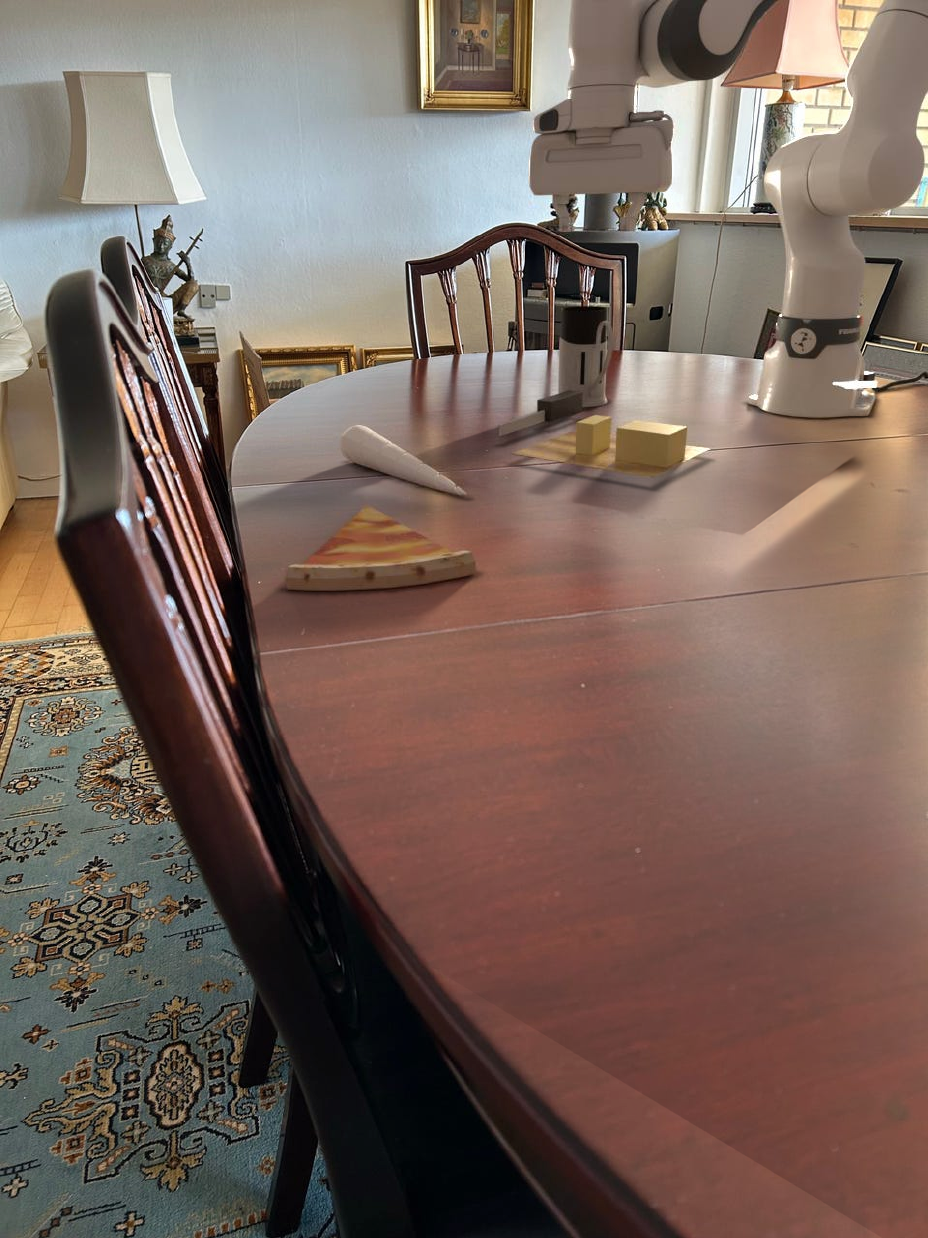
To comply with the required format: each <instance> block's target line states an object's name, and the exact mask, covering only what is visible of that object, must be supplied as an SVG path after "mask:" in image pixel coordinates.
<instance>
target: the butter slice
mask: <svg viewBox="0 0 928 1238" xmlns="http://www.w3.org/2000/svg"><path fill="white" fill-rule="evenodd" d="M575 426H576V427H575V430H576V454H582V455H589V456H593V455H595V454H597V453H599V452H601V451H603V450H605V449H607V448H610V434H611V432H612V431H611V430H612V429H611V428H612V416H608V415H607V416H606V415H598V414H593V415H592V416H589V417H586V418H584V419H582V420H579V421H576V425H575Z"/></svg>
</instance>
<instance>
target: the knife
mask: <svg viewBox="0 0 928 1238" xmlns="http://www.w3.org/2000/svg"><path fill="white" fill-rule="evenodd" d="M582 400H583V392H580V391H572V390H569V391H566V392H562V393H559V394H558V393H556V394H553V395H550V396H546V397H543V398H539V399H537V401H536V412H534V413H530V414H526V415H525V416H521V417H519V418H515V419H512V420H509V421H506V422H503V423H500V424H499V425H498V429H499V430H498V431H499V433H498V434H499V436H500V437H502V436H506V435H508V434H512V433H514V432H517V431H521V430H524V429H526V428H529V427H531V426H535V425H538V424H542V423H544V422H548V423H552V422H556V421H557V420H560V419H563V418H567V417H570V416H573V415H576V414H578V413H581V412H583V407H582Z"/></svg>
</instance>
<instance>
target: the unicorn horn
mask: <svg viewBox="0 0 928 1238" xmlns="http://www.w3.org/2000/svg"><path fill="white" fill-rule="evenodd" d="M340 451H341V454H342V456H343V457H344V458H345V459H346V461H349V462H351V463H355V464H357V465H360V466H362V467H365V468H369V469H372V470H374V471H378V472H381V473H383V474H387V475H390V476H393V477H395V478H398V479H402V480H405V481H408V482H411V483H414V484H417V485H420V486H424V487H426V488H430V489H433V490H437V491H441V492H445V493H448V494H452V495H457V496H467V495H468V494H467V493H466V492H465V490H463V489H462V488H461V486H458V485H457V486H456V483H455V482H454V481H452V480H451V479H449V478H448V477H446V476H445V475H443V474H440V472H439V471H437V470H435V469H434V468H432V467H431V466H429V465H428V464H426V463H424V462H423V461H422V460H420V459H419V458H417V457H416V456H414V455H413V454H411V453H410V452H409V453H408V452H407V451H406V450H404V448H401V447H400V446H398V445H396V444H395V443H392V441H390V440H388V439H387V438H385V437H383V436H382V435H380V434H378V433H377V432H375V431H374V430H372V429H370V428H369V427H367V426H365V425H361V424H356V425H352V426H351V427H349V428H347V429H346V430H345V431H344V433H343V434H342V435H341V439H340Z"/></svg>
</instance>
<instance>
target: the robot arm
mask: <svg viewBox="0 0 928 1238" xmlns="http://www.w3.org/2000/svg"><path fill="white" fill-rule="evenodd" d="M778 1H779V0H571V4H570V11H569V25H568V43H567V46H568V47H567V48H568V56H569V61H570V75H569V79H568V83H567V89H566V90H567V91H566V92H567V93H566V99H564V100H563V101H561V102H559V103H558V104H555V105H554V106H552V107H550V108H548V109H546V110H544V111H542V112H540V113H538V114H537V115H535V116H534V118H533V121H532V126H533V127H532V129H533V132H534V134H537V136H535V138H534V139H533V141H532V143H531V146H530V153H529V163H528V187H529V189H530V191H531V193H532V194H533V195H534V196H551V197H552V200H551V201H552V202H551V203H552V204H551V205H552V206H553V209H554V211H555V213H556V215H557V218H558V222H559V223H558V226H559V227H558V231H559V232H562V233H563V232H564V233H566V232H574V231H575V228H576V225H575V223H576V217H572V216H570V213H569V210H568V207H567V205H568V204H569V203H570V195H571V196H572V195H600V194H603V195H605V194H628V197H627V199H628V200H627V202H628V203H631V204H630V206H629V207H628V210H627V213H626V215H625V216H620V217H619V223H620V225H619V231H620V232H635V231H636V228H637V225H636V224H637V217H638V215H639V214H640V212H641V210H642V209H643V206H644V205H645V203H646V193H665V192H667V191H668V190H669V188H671V185H672V184H673V177H674V163H673V162H674V157H673V147H672V144H673V141H674V136H675V123H674V120H673V118H672V117H671V115H669V114H667V113H665V111H664V110H653V111H637V107H636V106H637V91H638V88H637V87H638V85H640V86H643V87H646V88H647V87H648V88H652V89H659V88H661V89H662V88H665V87H671V86H676V85H680V84H683V83H688V82H699V81H709V80H713V79H716V78H718V77H720V76H721V75H723V74H725V73H726V72H727V71H728V70H729V69H731V67H733V65H734V64H735V63H736V61H737V60H738V58H739V57H740V55H741V53H742V51H743V49H744V48H745V46H746V44H747V42H748V40H749V38H750V37H751V35H752V32H753V31H754V29H755V28H756V26H757V25H758V23H759V22H760V20H762V18H763V17H764V16H765V15H766V14H767V12H768V11H770V9H772V7H774V6H775V4H777V2H778ZM878 8H879V9H878V10H877V12H876V14H875V16H874V17H873V19H872V22H871V24H870V26H869V28H868V30H867V32H866V34H865V35H864V37H863V39H862V41H861V44H860V46H859V48H858V50H857V51H856V54H855V55H854V57H853V59H852V62H851V64H850V66H849V67H848V70H847V72H846V75H845V89H846V91H847V94H848V96H849V99H850V100H851V107H850V110H849V114H848V116H847V119H846V121H845V123H844V124H843V125H842V127H840V129H838V130H837V131H829V132H820V133H819V132H818V133H810V134H805V135H804V136H800V137H799V138H796V139H794V140H792V141H790V142H788V143H786V144H784V145H782V146H780V147H779V148H778V149H776V151H774V153H773V154H772V156H771V157H770V159H769V161H768V163H767V165H766V168H765V172H764V177H763V187H764V192H765V195H766V198H767V200H768V201H769V203H770V204H771V205H772V207H773V208H774V210H775V211H776V213H777V216H778V219H779V222H780V226H781V231H782V235H783V241H784V249H785V274H784V275H785V276H784V284H783V285H784V287H783V296H782V305H781V313H780V314H779V315H778V316H777V320H776V321H777V322H776V324H775V336H774V338H775V340H776V341H775V343H774V344H773V346H772V347H770V348H769V349H768V350H767V351H765V352H764V356H763V360H762V365H761V372H760V377H759V381H758V382H759V383H758V388H757V392H756V393H757V394H754V395H751V396H749V397H748V399H747V404H750V405H752V406H755V407H757V408H759V409H761V410H762V411H765V412H768V413H772V414H776V415H782V416H788V417H798V418H799V417H800V418H839V417H868V416H869V415H870V413H871V410H872V409H873V405H874V403H875V401H876V393H878V392H879V393H880V392H883V391H885V390H888V389H890V388H892V387H896V386H901V385H902V386H903V385H907V384H912V383H916V382H918V381H920V380H921V379H922V378H923V380H924V379H925V380H928V372H927V371H925V370H923V371H921V372H920V373H918V375H916V376H915V377H911V378H904V379H900V380H895V381H891V382H887V383H885V384H884V385H882V386H878V381H877V380H875V379H876V372H875V371H874V372H873V371H866V362H865V359H864V356H863V354H862V351H861V349H860V347H859V343H858V341H859V340H860V338H861V330H862V326H863V320H864V319H863V316H862V315H859V313H860V309H861V308H860V307H861V301H862V295H863V288H864V283H865V282H864V281H865V276H866V270H867V263H866V259H865V256H864V254H863V253H862V251H861V250H859V248H858V247H857V245H856V244H855V243H854V240H853V236H852V234H851V229H850V219H849V218H850V217H868V216H874V215H876V214H880V213H885V212H887V211H891V210H893V209H897V208H899V207H901V206H903V205H904V204H906V203H907V202H908V201H909V200H910V199H911V198H912V197H913V196H914V194H915V193H916V192H917V190H918V188H919V186H920V184H921V182H922V178H923V175H924V172H925V163H926V160H925V152H924V148H923V145H922V142H921V141H920V139H919V137H918V134H917V127H918V126H917V125H918V120H919V116H920V112H921V108H922V105H923V102H924V100H925V98H926V96H927V93H928V0H883V1H882V3H881V4H880V7H878ZM866 389H871V390H872V391H873V392H872V391H867V390H866ZM874 392H876V393H874Z"/></svg>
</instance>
